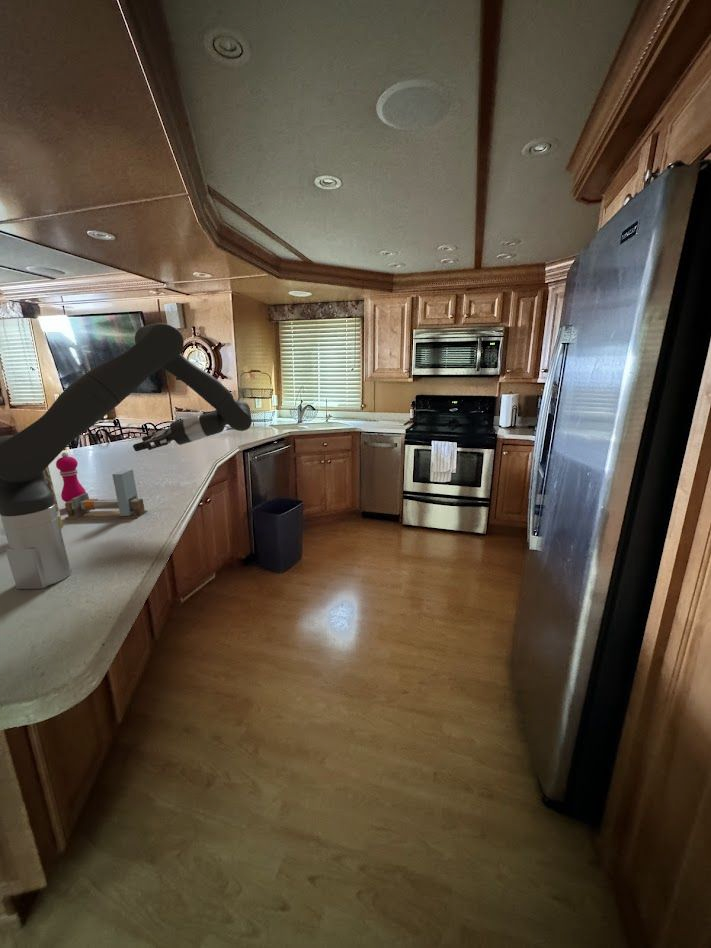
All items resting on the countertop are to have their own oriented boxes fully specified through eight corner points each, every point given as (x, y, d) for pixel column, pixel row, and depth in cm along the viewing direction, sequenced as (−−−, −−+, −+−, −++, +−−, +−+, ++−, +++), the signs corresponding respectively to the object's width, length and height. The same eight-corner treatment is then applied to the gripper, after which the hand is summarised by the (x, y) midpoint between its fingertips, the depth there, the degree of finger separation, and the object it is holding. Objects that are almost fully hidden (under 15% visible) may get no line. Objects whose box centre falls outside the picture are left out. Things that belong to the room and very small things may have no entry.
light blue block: (129, 515, 122) (121, 474, 119) (120, 515, 122) (112, 474, 119) (139, 509, 128) (132, 469, 125) (131, 509, 128) (123, 469, 125)
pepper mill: (67, 505, 136) (54, 451, 131) (90, 502, 139) (79, 449, 134) (61, 511, 130) (48, 455, 125) (86, 508, 133) (74, 453, 128)
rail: (137, 518, 123) (133, 497, 121) (65, 519, 123) (60, 499, 121) (147, 511, 128) (144, 492, 127) (78, 512, 129) (74, 493, 127)
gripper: (189, 414, 125) (140, 427, 124) (179, 423, 112) (125, 439, 111) (198, 435, 128) (150, 448, 127) (190, 446, 115) (136, 462, 114)
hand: (138, 444), depth 119 cm, fingers open, 8 cm apart
